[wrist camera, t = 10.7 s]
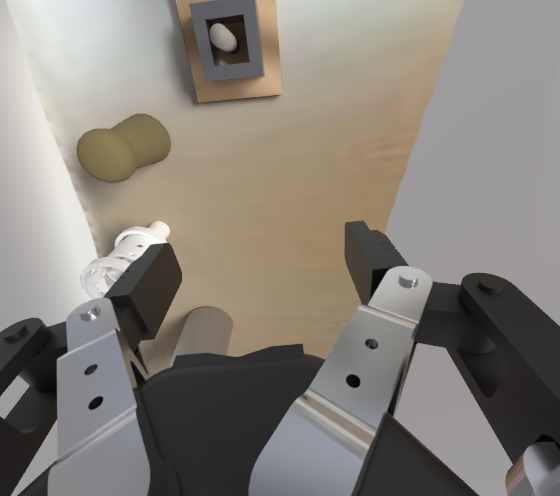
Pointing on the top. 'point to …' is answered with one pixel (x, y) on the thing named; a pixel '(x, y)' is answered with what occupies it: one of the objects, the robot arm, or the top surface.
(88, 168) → the cork
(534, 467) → the robot arm
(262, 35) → the toggle switch
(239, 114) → the top surface
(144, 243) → the strainer
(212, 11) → the grey hollow square block
